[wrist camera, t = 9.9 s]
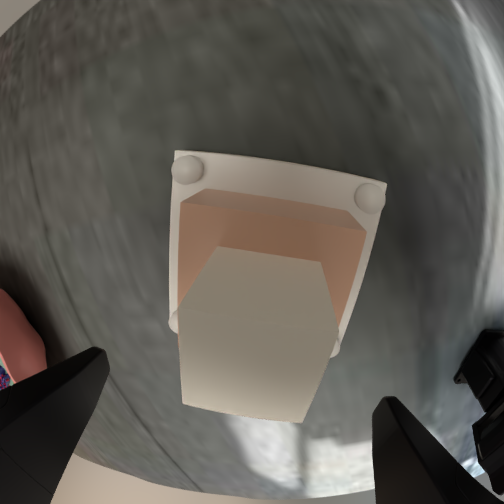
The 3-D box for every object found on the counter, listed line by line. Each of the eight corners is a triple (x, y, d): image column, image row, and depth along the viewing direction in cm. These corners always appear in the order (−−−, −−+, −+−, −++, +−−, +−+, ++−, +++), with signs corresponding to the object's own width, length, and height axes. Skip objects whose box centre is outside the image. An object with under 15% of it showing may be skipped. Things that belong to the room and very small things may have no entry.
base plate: (378, 180, 15) (417, 196, 10) (333, 341, 20) (343, 395, 15) (183, 149, 16) (142, 153, 11) (176, 315, 21) (148, 363, 15)
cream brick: (320, 262, 12) (339, 332, 7) (299, 343, 14) (302, 423, 9) (217, 245, 12) (178, 306, 8) (211, 329, 14) (182, 403, 9)
